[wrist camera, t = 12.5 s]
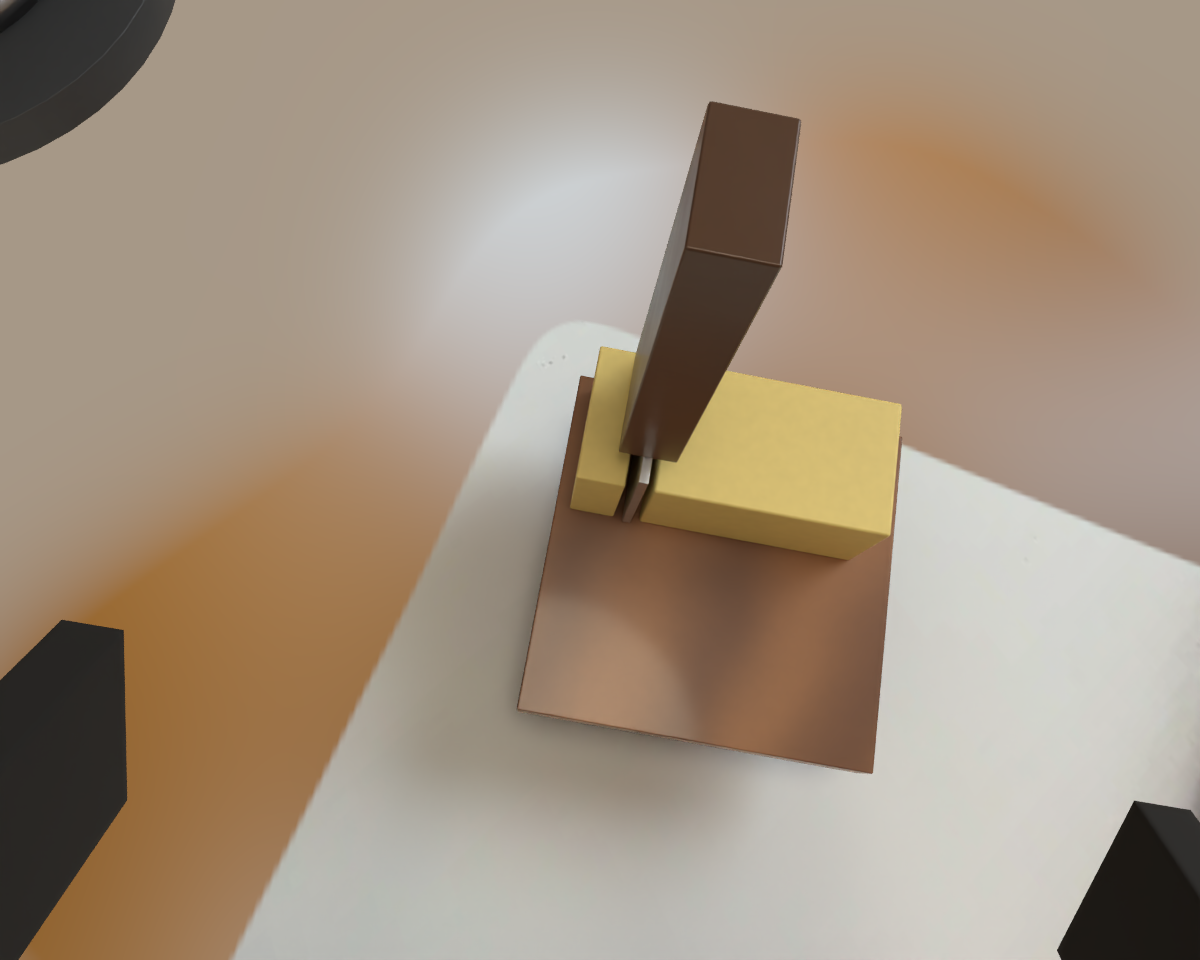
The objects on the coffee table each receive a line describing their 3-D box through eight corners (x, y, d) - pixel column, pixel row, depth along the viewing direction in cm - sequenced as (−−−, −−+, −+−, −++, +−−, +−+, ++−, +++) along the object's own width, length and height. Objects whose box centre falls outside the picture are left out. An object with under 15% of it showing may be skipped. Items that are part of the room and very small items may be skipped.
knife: (600, 517, 34) (678, 288, 17) (622, 389, 35) (715, 64, 19) (651, 527, 34) (777, 307, 17) (672, 399, 35) (807, 82, 19)
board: (516, 711, 33) (516, 709, 32) (578, 389, 37) (580, 374, 35) (858, 773, 34) (873, 773, 32) (887, 449, 37) (902, 436, 36)
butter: (569, 509, 34) (576, 477, 30) (591, 390, 35) (600, 345, 31) (849, 561, 34) (891, 536, 30) (861, 441, 35) (902, 403, 32)
